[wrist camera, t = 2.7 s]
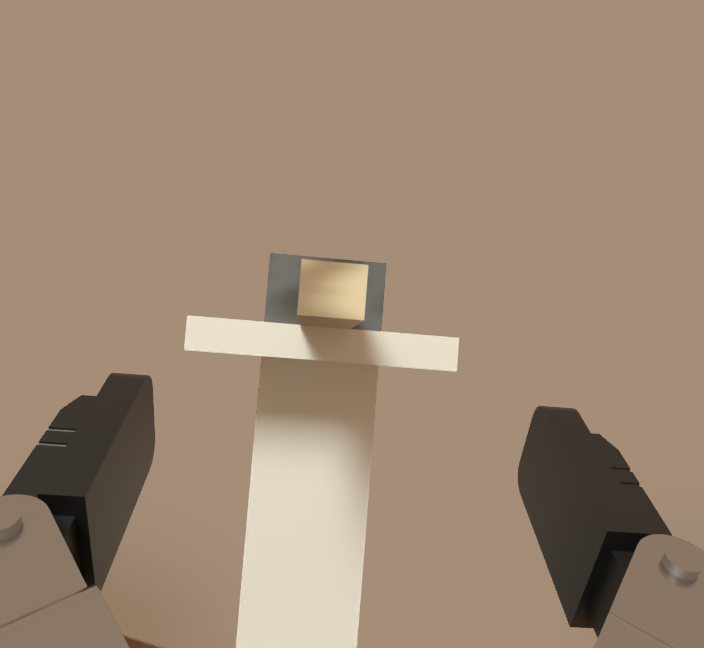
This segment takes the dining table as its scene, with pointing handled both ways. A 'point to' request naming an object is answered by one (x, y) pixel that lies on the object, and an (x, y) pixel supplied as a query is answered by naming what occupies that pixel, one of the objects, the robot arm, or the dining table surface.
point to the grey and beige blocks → (325, 292)
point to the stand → (310, 470)
